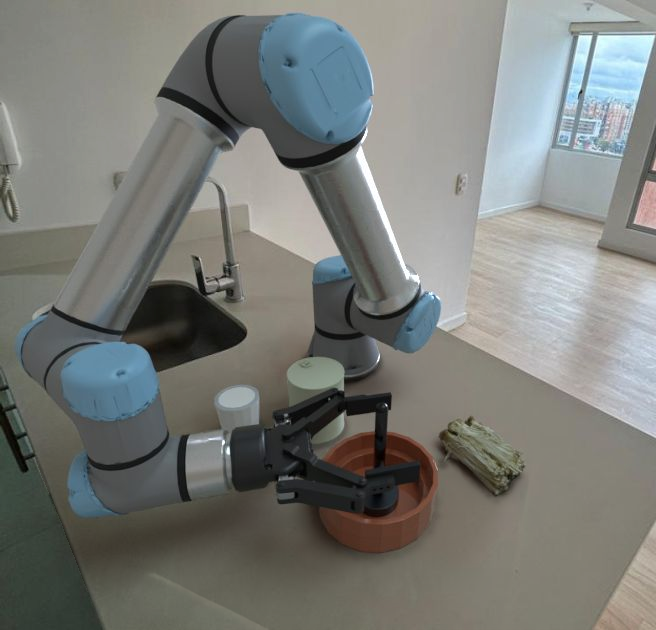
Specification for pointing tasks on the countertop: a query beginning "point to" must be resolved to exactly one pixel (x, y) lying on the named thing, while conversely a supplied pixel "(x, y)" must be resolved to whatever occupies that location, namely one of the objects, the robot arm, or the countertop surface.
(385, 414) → the peg stand
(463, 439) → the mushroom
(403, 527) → the bowl
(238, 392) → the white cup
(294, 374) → the can
